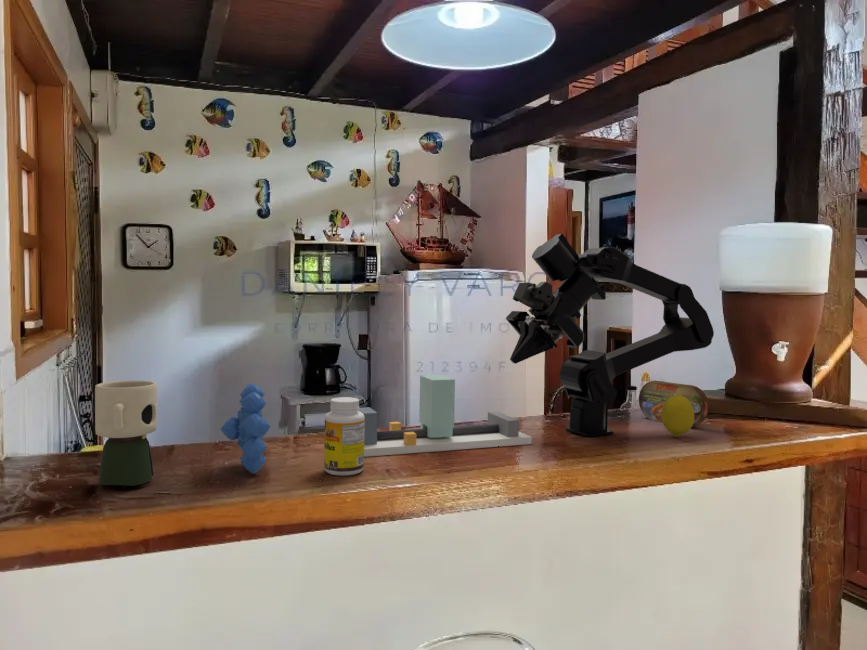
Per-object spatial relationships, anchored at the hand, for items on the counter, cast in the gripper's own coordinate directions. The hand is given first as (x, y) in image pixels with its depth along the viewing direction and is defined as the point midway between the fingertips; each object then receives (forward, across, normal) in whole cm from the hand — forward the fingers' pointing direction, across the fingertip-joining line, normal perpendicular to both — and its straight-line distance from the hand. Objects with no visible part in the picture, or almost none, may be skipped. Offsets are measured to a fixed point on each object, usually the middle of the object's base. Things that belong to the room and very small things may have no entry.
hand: (512, 361), depth 108 cm
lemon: (-11, +8, +31) cm, 34 cm away
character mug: (+52, +9, -33) cm, 62 cm away
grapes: (+42, +7, -22) cm, 48 cm away
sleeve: (+18, 0, -2) cm, 19 cm away
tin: (-17, -3, +37) cm, 41 cm away
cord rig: (+19, 0, 0) cm, 19 cm away
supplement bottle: (+33, +12, -13) cm, 37 cm away
